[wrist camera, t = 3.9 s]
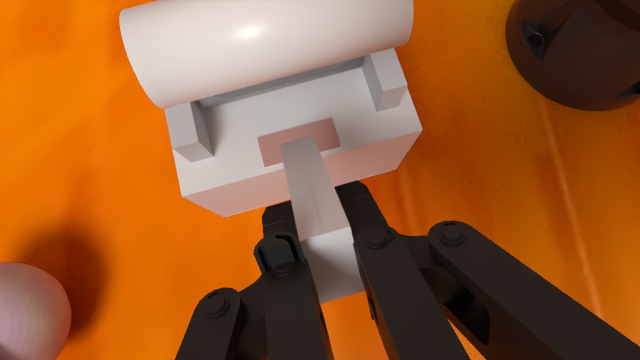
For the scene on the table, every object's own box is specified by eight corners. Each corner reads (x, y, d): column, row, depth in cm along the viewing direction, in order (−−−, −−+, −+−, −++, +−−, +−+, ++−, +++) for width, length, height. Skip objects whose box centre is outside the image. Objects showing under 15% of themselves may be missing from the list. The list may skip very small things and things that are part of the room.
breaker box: (395, 169, 34) (435, 111, 21) (224, 217, 33) (161, 186, 21) (357, 56, 37) (372, -56, 24) (198, 98, 36) (128, 6, 24)
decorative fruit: (122, 291, 32) (33, 301, 22) (69, 387, 31) (-52, 442, 21) (32, 245, 33) (-90, 235, 24) (-24, 335, 32) (-180, 364, 22)
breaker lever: (358, 73, 26) (460, 25, 11) (209, 113, 25) (103, 120, 10) (347, 28, 25) (441, -89, 10) (195, 68, 25) (60, 7, 10)
